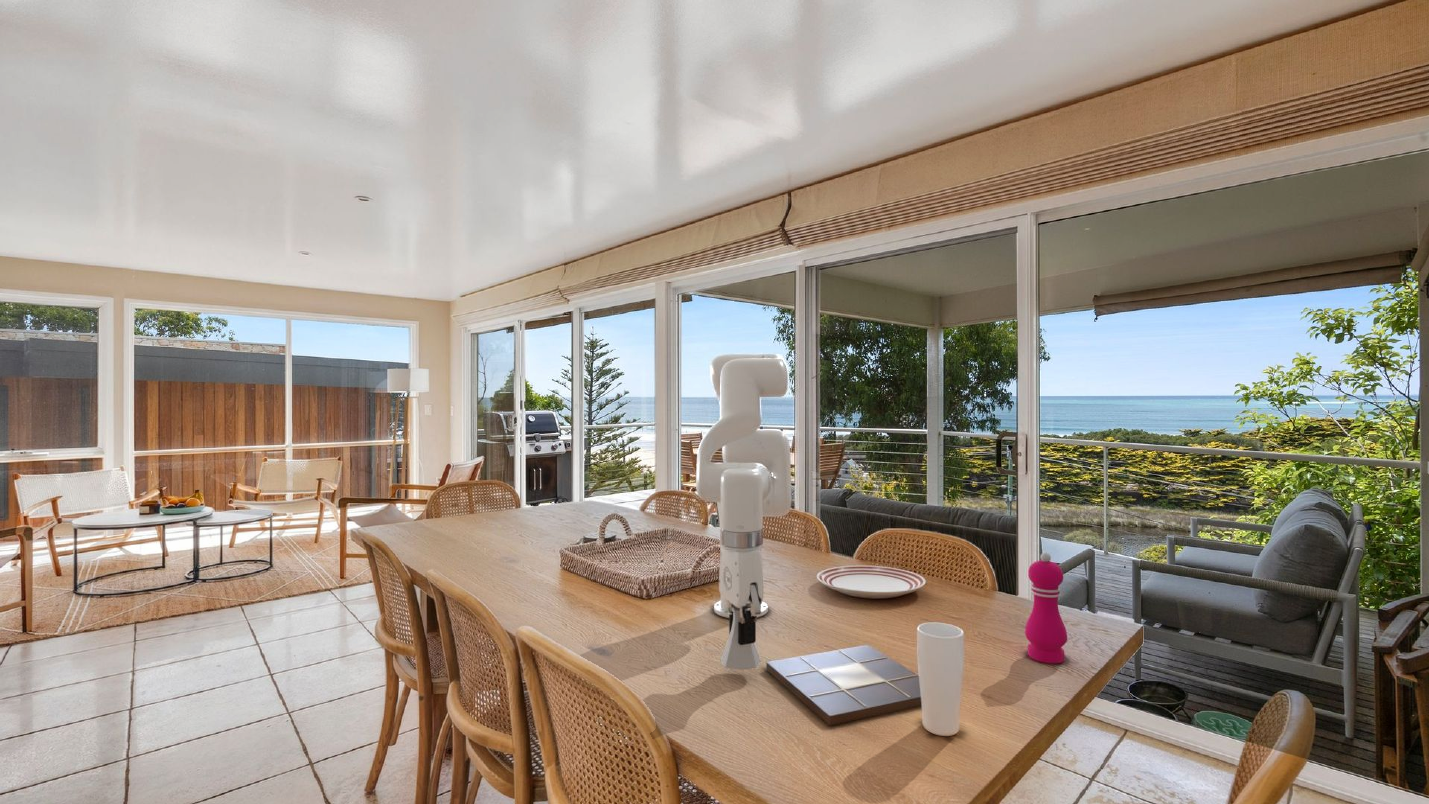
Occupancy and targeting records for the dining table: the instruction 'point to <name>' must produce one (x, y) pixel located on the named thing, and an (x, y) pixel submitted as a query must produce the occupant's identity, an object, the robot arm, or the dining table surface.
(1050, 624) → the pepper mill
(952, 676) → the drinking glass
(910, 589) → the dinner plate
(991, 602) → the dining table surface
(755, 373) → the robot arm
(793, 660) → the board
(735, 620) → the flask
